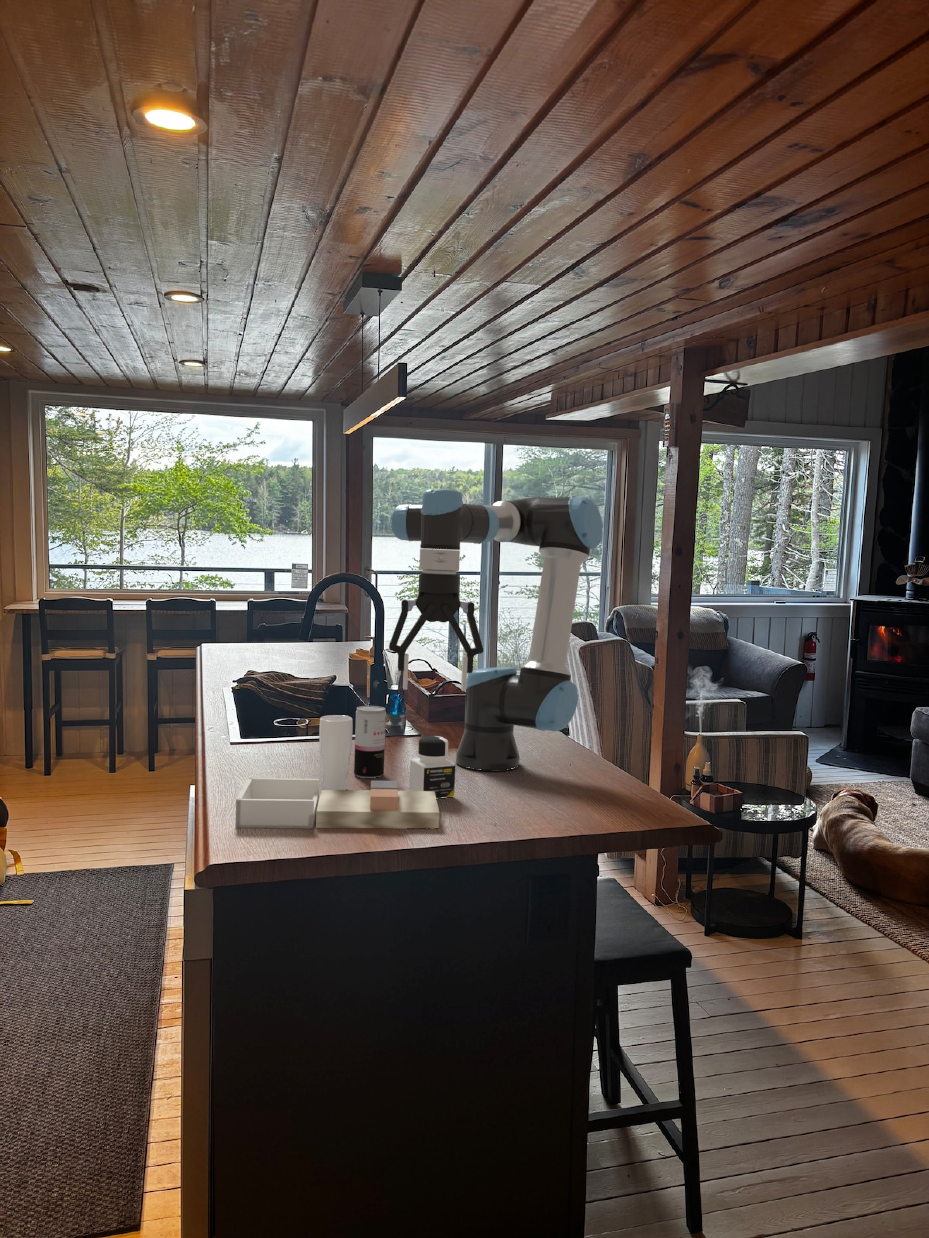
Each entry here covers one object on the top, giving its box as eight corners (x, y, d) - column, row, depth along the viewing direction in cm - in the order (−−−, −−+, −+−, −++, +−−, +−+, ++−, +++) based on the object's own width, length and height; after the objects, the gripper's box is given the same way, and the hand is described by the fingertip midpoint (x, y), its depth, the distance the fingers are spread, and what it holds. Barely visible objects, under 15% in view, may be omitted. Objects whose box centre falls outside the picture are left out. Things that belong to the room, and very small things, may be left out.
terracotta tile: (397, 802, 163) (397, 789, 163) (397, 810, 159) (398, 796, 158) (370, 802, 163) (370, 788, 163) (370, 810, 158) (370, 796, 158)
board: (433, 806, 172) (434, 791, 172) (438, 828, 158) (439, 812, 158) (321, 804, 170) (321, 789, 170) (315, 827, 156) (316, 811, 156)
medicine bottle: (423, 801, 176) (425, 742, 175) (408, 792, 182) (410, 735, 181) (454, 798, 179) (457, 740, 178) (439, 789, 185) (441, 733, 184)
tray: (318, 804, 171) (319, 778, 170) (312, 828, 156) (313, 800, 155) (247, 803, 169) (248, 777, 169) (235, 827, 154) (236, 799, 154)
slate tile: (396, 793, 169) (396, 780, 169) (397, 800, 164) (397, 787, 164) (370, 793, 169) (371, 780, 169) (370, 800, 164) (370, 787, 164)
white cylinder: (356, 787, 183) (358, 716, 182) (341, 795, 177) (343, 722, 176) (327, 783, 186) (329, 713, 184) (311, 791, 179) (313, 719, 178)
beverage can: (347, 774, 194) (349, 707, 193) (370, 770, 199) (372, 704, 197) (367, 780, 189) (369, 712, 188) (389, 775, 194) (392, 709, 193)
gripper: (377, 570, 160) (373, 690, 161) (502, 575, 162) (496, 694, 163) (377, 569, 167) (373, 684, 169) (497, 574, 169) (491, 687, 171)
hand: (434, 689), depth 166 cm, fingers open, 10 cm apart
